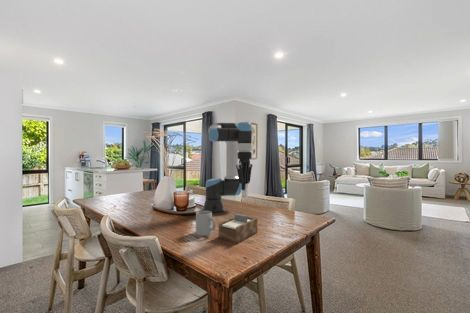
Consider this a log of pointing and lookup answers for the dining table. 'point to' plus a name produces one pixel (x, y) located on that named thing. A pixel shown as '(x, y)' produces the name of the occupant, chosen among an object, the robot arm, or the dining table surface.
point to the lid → (236, 221)
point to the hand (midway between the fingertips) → (244, 195)
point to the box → (238, 230)
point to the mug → (204, 223)
